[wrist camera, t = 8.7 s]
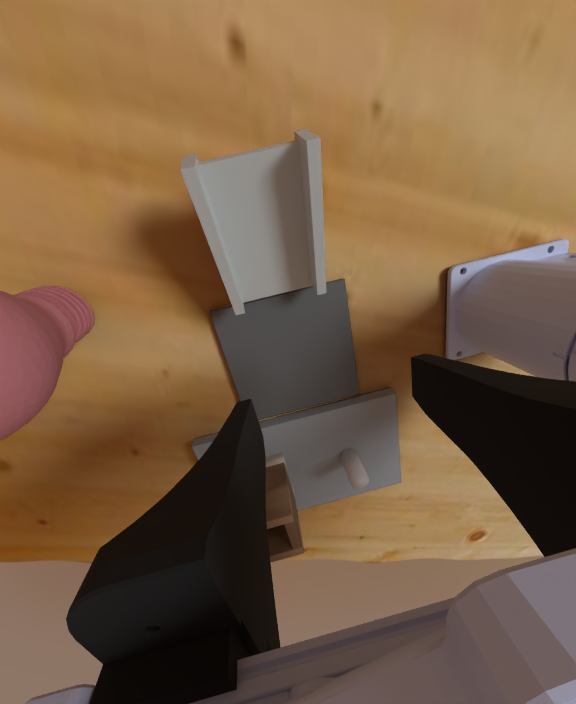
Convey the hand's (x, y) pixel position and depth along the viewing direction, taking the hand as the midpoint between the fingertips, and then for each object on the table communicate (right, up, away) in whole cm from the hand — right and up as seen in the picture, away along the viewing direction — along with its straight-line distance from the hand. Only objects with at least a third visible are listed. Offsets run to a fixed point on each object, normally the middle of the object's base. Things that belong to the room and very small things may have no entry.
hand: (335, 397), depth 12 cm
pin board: (0, -8, +14) cm, 16 cm away
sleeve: (-4, -10, +13) cm, 17 cm away
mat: (-2, +2, +10) cm, 10 cm away
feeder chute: (-4, +10, +6) cm, 12 cm away
